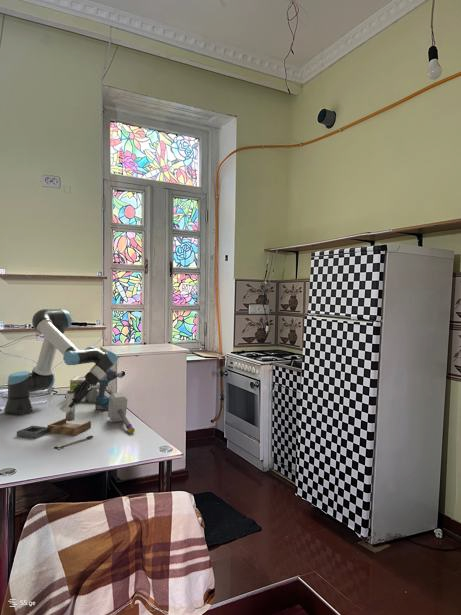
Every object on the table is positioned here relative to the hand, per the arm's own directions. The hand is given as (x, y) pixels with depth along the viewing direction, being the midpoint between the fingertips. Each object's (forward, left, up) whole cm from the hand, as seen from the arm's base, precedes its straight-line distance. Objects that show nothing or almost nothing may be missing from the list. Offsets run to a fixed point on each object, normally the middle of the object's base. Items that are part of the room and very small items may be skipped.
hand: (63, 410), depth 223 cm
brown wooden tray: (+2, +3, -11) cm, 11 cm away
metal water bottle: (+2, +3, -5) cm, 6 cm away
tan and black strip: (+18, -14, -11) cm, 25 cm away
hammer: (+24, +18, -11) cm, 32 cm away
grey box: (-22, +64, -11) cm, 69 cm away
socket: (-10, -9, -11) cm, 17 cm away
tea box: (-34, +65, -11) cm, 74 cm away
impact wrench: (-4, +48, -11) cm, 50 cm away
